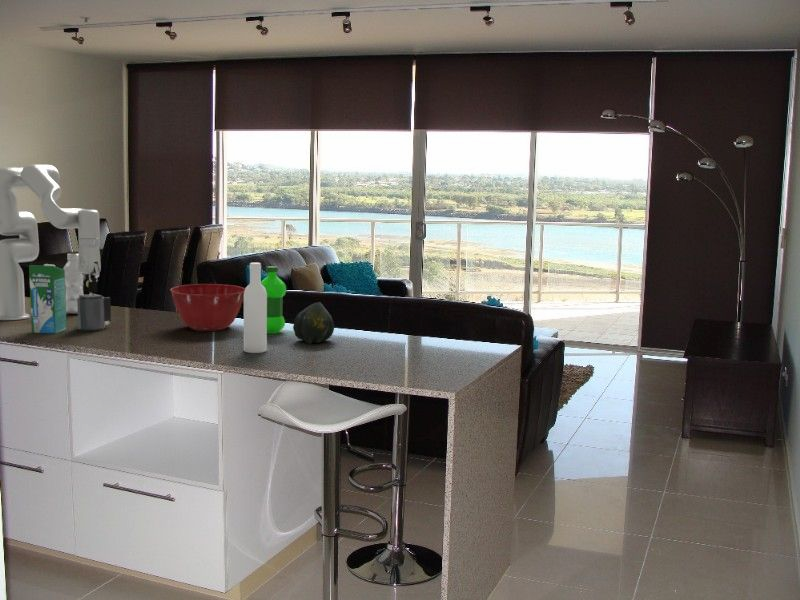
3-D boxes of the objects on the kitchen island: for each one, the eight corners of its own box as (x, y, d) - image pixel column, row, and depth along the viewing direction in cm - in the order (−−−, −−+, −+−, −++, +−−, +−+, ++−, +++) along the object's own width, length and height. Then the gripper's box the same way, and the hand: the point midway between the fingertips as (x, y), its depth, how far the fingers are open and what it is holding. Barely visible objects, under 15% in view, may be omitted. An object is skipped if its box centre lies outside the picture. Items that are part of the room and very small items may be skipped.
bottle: (256, 354, 291) (256, 264, 287) (238, 351, 295) (238, 263, 291) (271, 350, 298) (272, 263, 294) (254, 347, 302) (254, 261, 298)
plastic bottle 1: (89, 314, 363) (87, 254, 360) (70, 316, 357) (68, 255, 353) (79, 311, 369) (78, 252, 365) (60, 313, 362) (58, 253, 359)
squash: (286, 330, 306) (315, 298, 306) (285, 324, 320) (313, 294, 321) (316, 356, 308) (345, 325, 309) (314, 350, 323) (341, 320, 323)
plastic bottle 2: (253, 333, 328) (253, 267, 325) (266, 329, 338) (266, 264, 335) (278, 335, 325) (278, 268, 322) (289, 331, 335) (290, 266, 332)
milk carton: (66, 329, 328) (64, 263, 324) (55, 333, 319) (52, 265, 315) (43, 328, 328) (41, 262, 325) (31, 332, 319) (28, 264, 316)
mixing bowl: (258, 330, 334) (258, 290, 332) (186, 337, 318) (186, 295, 316) (228, 319, 357) (228, 282, 355) (160, 325, 341) (159, 286, 339)
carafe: (74, 328, 330) (73, 295, 328) (104, 325, 338) (103, 292, 336) (85, 332, 323) (84, 297, 321) (115, 328, 331) (115, 295, 330)
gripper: (70, 241, 328) (71, 290, 331) (89, 244, 317) (90, 295, 319) (89, 240, 333) (90, 288, 336) (108, 244, 322) (110, 293, 324)
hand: (90, 291), depth 328 cm, fingers closed on plunger, 3 cm apart
